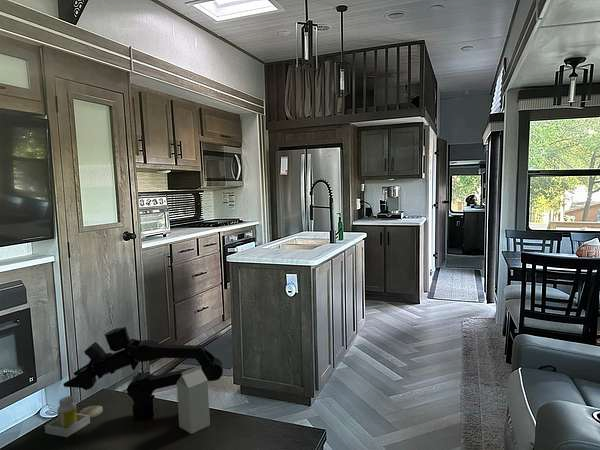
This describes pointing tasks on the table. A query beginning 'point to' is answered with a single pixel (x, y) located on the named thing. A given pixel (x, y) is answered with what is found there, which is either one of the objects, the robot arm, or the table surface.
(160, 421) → the table surface
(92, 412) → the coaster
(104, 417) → the table surface
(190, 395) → the milk carton
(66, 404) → the supplement bottle
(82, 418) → the bin
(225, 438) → the table surface
